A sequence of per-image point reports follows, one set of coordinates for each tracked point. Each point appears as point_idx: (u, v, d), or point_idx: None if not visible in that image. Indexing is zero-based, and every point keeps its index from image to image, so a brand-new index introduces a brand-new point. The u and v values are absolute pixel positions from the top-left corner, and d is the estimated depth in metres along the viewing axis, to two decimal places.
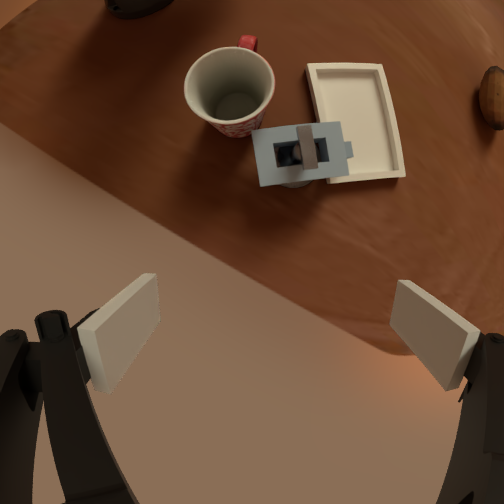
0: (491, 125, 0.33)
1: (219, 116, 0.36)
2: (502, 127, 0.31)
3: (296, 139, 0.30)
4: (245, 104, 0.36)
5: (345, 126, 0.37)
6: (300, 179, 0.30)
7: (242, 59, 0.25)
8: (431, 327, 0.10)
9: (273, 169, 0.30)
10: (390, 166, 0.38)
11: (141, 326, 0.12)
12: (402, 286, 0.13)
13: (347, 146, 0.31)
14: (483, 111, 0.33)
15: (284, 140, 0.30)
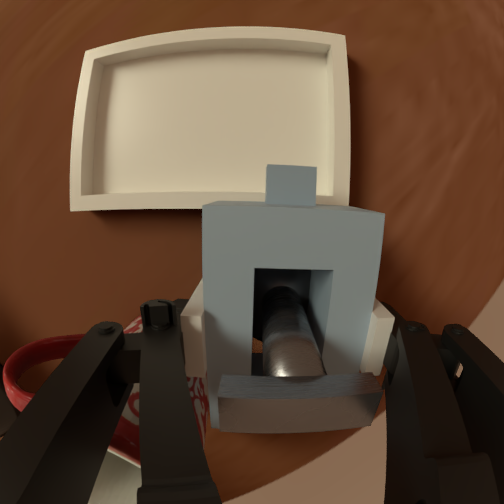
0: None
1: None
2: None
3: (249, 349, 0.11)
4: None
5: (215, 144, 0.17)
6: (359, 354, 0.11)
7: None
8: None
9: None
10: (316, 60, 0.15)
11: None
12: None
13: (283, 179, 0.11)
14: None
15: None
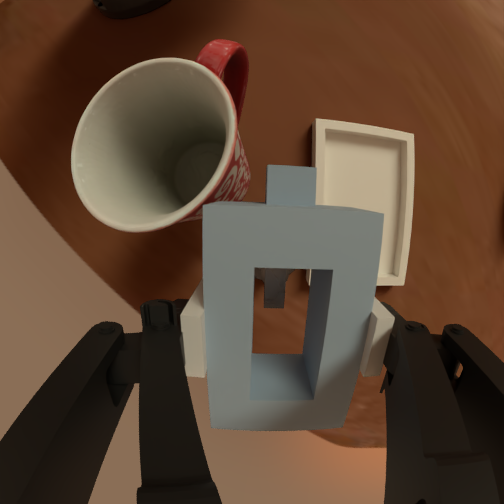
0: None
1: (179, 176, 0.24)
2: None
3: (249, 349, 0.11)
4: None
5: None
6: (359, 354, 0.11)
7: (194, 86, 0.13)
8: None
9: (315, 406, 0.11)
10: (389, 268, 0.32)
11: None
12: None
13: (283, 179, 0.11)
14: None
15: (247, 377, 0.11)
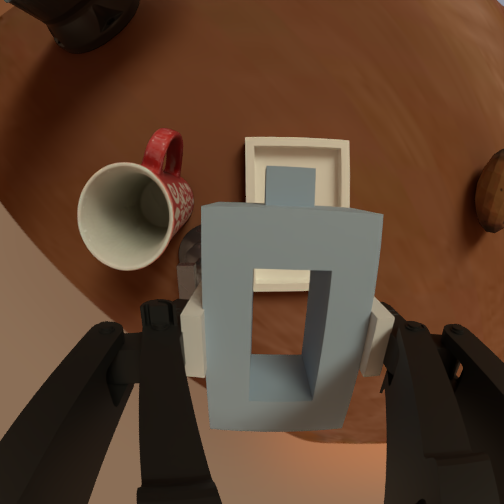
0: (482, 225, 0.31)
1: (144, 203, 0.33)
2: (495, 230, 0.29)
3: (247, 350, 0.11)
4: None
5: None
6: (358, 355, 0.11)
7: None
8: None
9: (314, 407, 0.11)
10: None
11: None
12: None
13: (282, 180, 0.11)
14: (477, 205, 0.31)
15: (246, 378, 0.11)
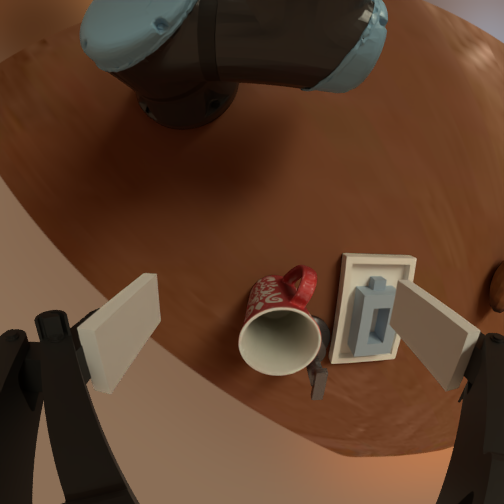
0: (492, 307, 0.40)
1: None
2: (500, 312, 0.38)
3: (369, 328, 0.39)
4: None
5: None
6: None
7: None
8: (430, 327, 0.10)
9: (383, 345, 0.39)
10: None
11: (141, 326, 0.12)
12: (402, 287, 0.13)
13: (378, 283, 0.39)
14: (491, 293, 0.40)
15: (367, 337, 0.39)
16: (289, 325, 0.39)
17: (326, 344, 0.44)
